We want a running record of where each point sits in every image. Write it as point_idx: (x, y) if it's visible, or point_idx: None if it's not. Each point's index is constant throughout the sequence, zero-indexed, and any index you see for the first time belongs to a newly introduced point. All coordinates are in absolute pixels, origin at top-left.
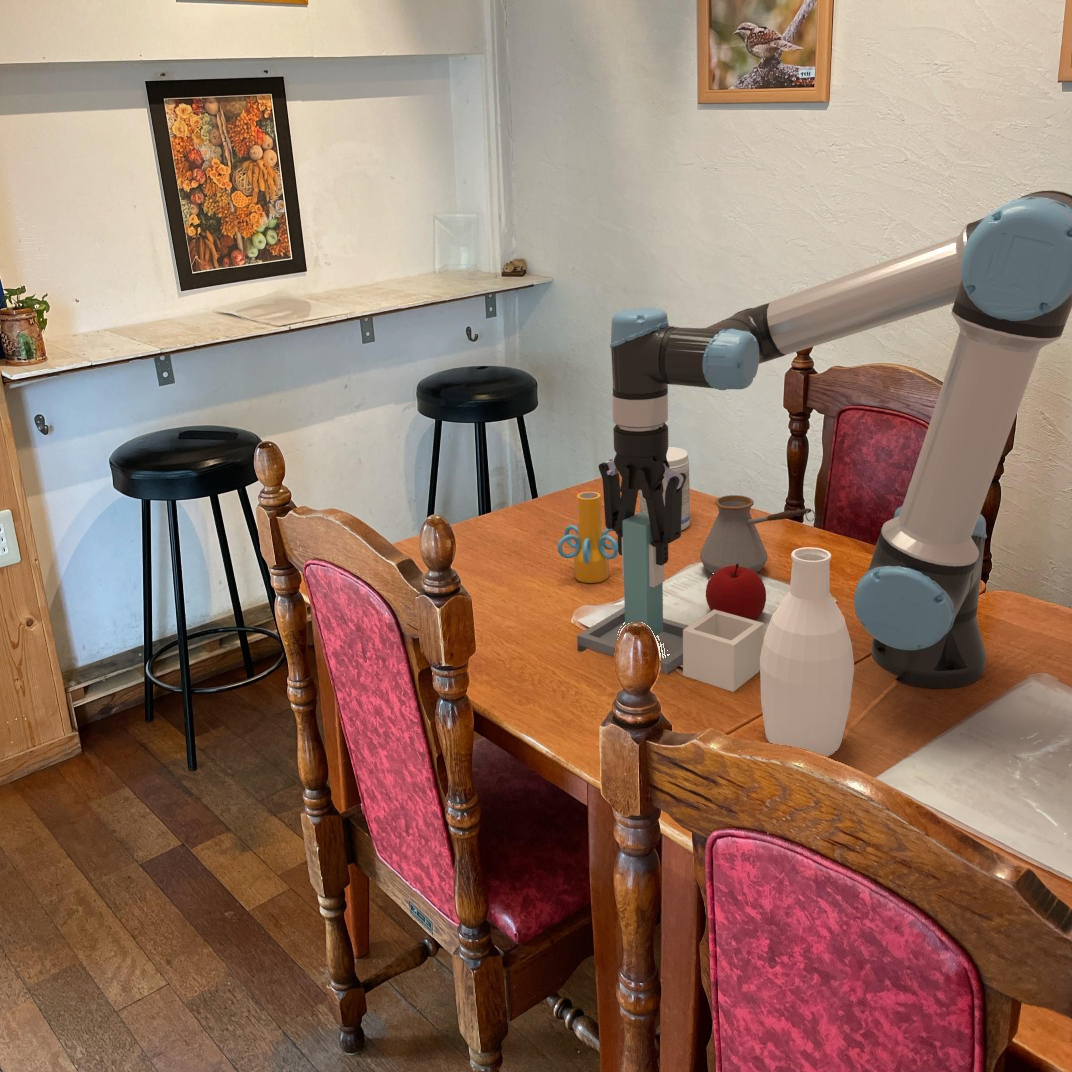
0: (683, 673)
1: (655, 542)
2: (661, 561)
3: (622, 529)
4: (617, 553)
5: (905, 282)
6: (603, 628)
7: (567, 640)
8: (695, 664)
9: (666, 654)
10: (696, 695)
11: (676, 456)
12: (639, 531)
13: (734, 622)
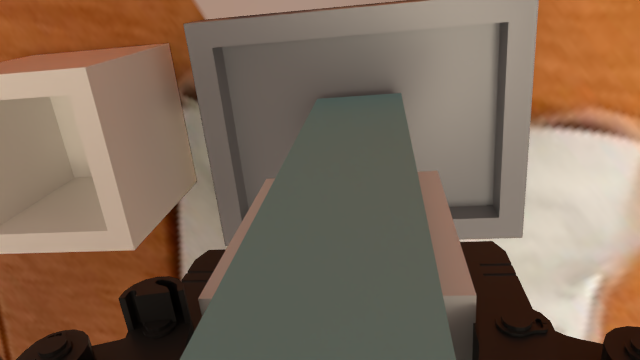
0: (157, 46)
1: (142, 301)
2: (200, 261)
3: (483, 345)
4: None
5: None
6: (502, 102)
7: (594, 21)
8: (100, 54)
9: (272, 111)
10: (97, 7)
11: None
12: (258, 335)
13: (53, 226)
